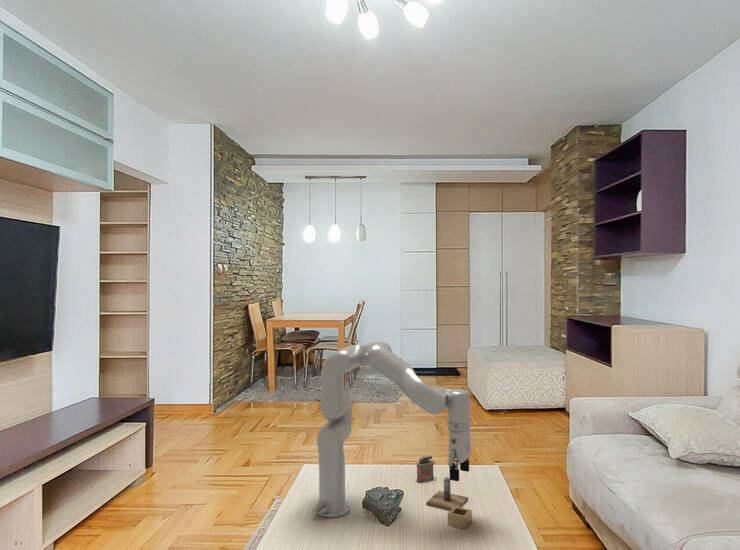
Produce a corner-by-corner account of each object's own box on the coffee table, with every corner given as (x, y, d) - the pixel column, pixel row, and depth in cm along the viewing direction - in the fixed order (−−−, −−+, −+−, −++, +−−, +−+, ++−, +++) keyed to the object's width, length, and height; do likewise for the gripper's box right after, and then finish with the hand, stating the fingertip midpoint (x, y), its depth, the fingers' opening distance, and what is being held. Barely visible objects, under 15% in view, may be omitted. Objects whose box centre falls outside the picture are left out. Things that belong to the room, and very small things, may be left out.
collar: (465, 529, 166) (465, 517, 166) (447, 525, 170) (447, 513, 170) (472, 521, 172) (472, 510, 172) (454, 517, 175) (454, 506, 175)
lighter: (419, 483, 205) (419, 459, 205) (415, 480, 208) (414, 456, 208) (435, 480, 208) (435, 456, 209) (430, 477, 211) (430, 453, 212)
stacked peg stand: (456, 512, 179) (456, 486, 179) (426, 505, 185) (425, 479, 185) (467, 500, 189) (467, 475, 189) (438, 493, 195) (438, 469, 195)
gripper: (460, 434, 162) (461, 486, 162) (477, 421, 177) (478, 469, 176) (439, 430, 166) (439, 482, 165) (457, 418, 181) (458, 465, 180)
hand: (459, 475), depth 171 cm, fingers open, 9 cm apart
